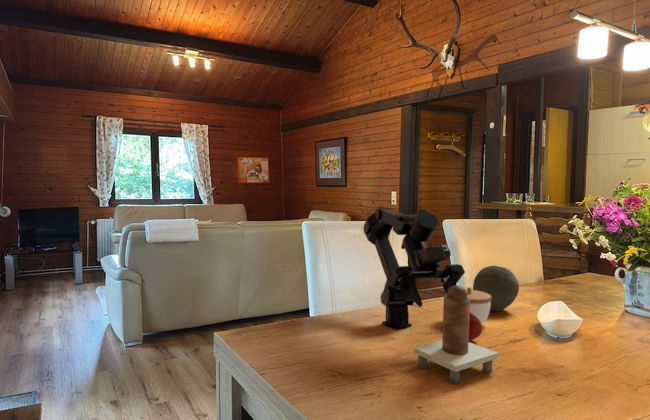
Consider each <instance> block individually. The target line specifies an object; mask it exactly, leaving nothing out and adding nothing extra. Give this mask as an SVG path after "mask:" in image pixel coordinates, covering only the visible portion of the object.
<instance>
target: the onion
mask: <svg viewBox="0 0 650 420" xmlns="http://www.w3.org/2000/svg"><path fill="white" fill-rule="evenodd" d="M482 327H483V326H482V324H481V322H480V321H479V319H478V318H477V317H476V316H475V315H473V314H472V312H471V311H470V314H469V342H472V341H473V340H475V339H477V338H478V337H480V336H481V333H482V331H483V328H482Z"/></svg>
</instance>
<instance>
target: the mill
mask: <svg viewBox="0 0 650 420" xmlns="http://www.w3.org/2000/svg"><path fill="white" fill-rule="evenodd" d="M442 310H443V311H442V313H443V315H442V339H441V340H442V350H443V351H445V352H447V353H449V354H454V355H464V354H467V353H468V342H470V341H469V314H470V298H469V297H467V292H466V290H465V288H464V287H463V286H462V285H457V284H456V285H454V286H452V287H450V288H449V289H448V291H447V293H446V294H444V296H443V309H442Z"/></svg>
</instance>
